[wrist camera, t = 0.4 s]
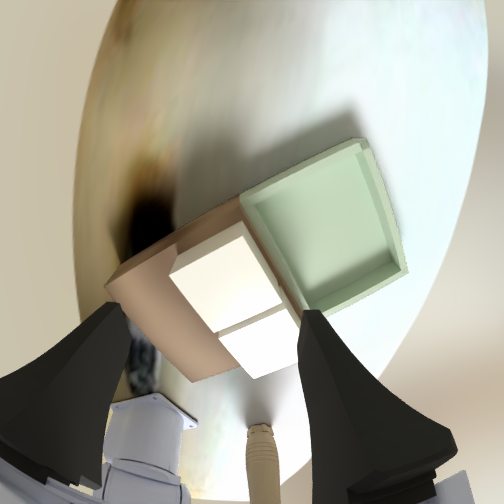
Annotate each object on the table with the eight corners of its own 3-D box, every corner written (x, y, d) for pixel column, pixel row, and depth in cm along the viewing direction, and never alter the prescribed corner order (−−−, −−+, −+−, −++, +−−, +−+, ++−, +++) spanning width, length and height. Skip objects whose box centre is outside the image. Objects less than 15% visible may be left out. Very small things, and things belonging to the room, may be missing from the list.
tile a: (252, 354, 20) (253, 378, 18) (220, 314, 18) (218, 338, 16) (306, 331, 19) (313, 354, 17) (280, 285, 18) (286, 308, 15)
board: (196, 355, 25) (191, 382, 21) (120, 264, 20) (103, 286, 17) (304, 309, 23) (313, 336, 20) (239, 194, 19) (239, 207, 15)
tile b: (216, 308, 18) (213, 332, 16) (177, 255, 17) (168, 275, 14) (277, 280, 17) (282, 302, 15) (242, 220, 16) (242, 235, 14)
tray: (304, 309, 23) (309, 325, 21) (239, 194, 19) (239, 201, 17) (396, 260, 21) (408, 272, 19) (353, 137, 17) (366, 138, 15)
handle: (242, 416, 29) (246, 527, 16) (289, 422, 31) (305, 524, 17) (230, 432, 31) (231, 530, 17) (274, 438, 32) (284, 530, 19)
